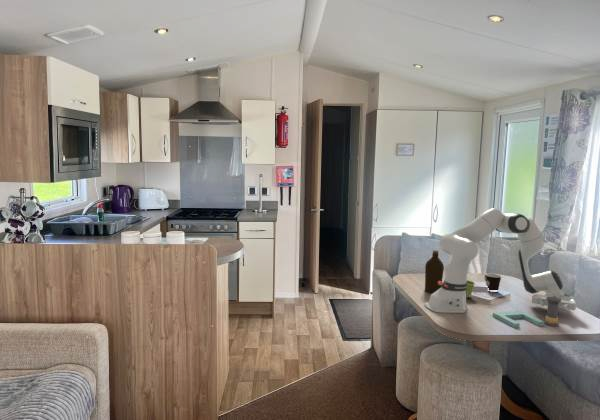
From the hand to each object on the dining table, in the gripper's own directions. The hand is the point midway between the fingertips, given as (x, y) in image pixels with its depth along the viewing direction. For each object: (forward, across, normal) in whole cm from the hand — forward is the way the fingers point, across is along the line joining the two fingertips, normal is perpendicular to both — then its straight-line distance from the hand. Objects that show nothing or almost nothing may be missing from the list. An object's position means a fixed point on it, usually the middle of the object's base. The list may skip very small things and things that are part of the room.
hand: (552, 306), depth 234 cm
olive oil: (-12, -64, +8) cm, 65 cm away
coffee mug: (-36, -34, +7) cm, 50 cm away
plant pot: (-14, -45, +7) cm, 48 cm away
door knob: (+8, 0, +7) cm, 10 cm away
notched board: (+13, -15, +7) cm, 21 cm away
